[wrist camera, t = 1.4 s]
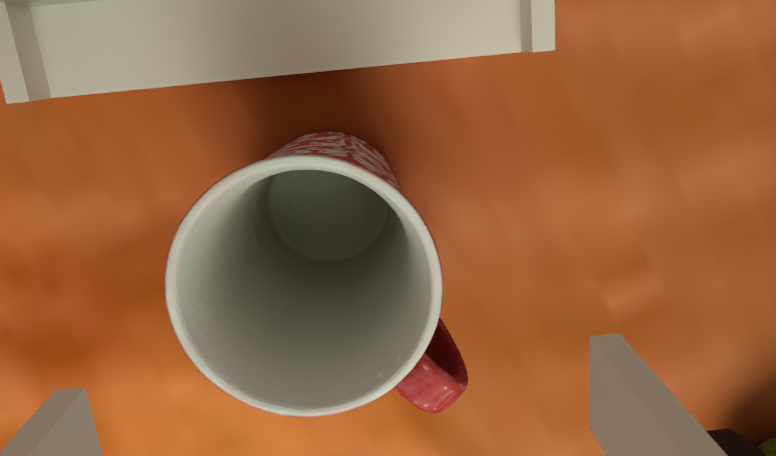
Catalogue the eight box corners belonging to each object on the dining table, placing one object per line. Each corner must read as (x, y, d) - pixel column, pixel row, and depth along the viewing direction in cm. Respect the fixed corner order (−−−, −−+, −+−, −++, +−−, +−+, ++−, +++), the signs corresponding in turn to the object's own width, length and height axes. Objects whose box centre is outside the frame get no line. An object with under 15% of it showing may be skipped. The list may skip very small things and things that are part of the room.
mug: (204, 191, 32) (100, 286, 20) (333, 73, 31) (313, 93, 18) (364, 353, 36) (367, 528, 23) (488, 252, 34) (566, 378, 21)
